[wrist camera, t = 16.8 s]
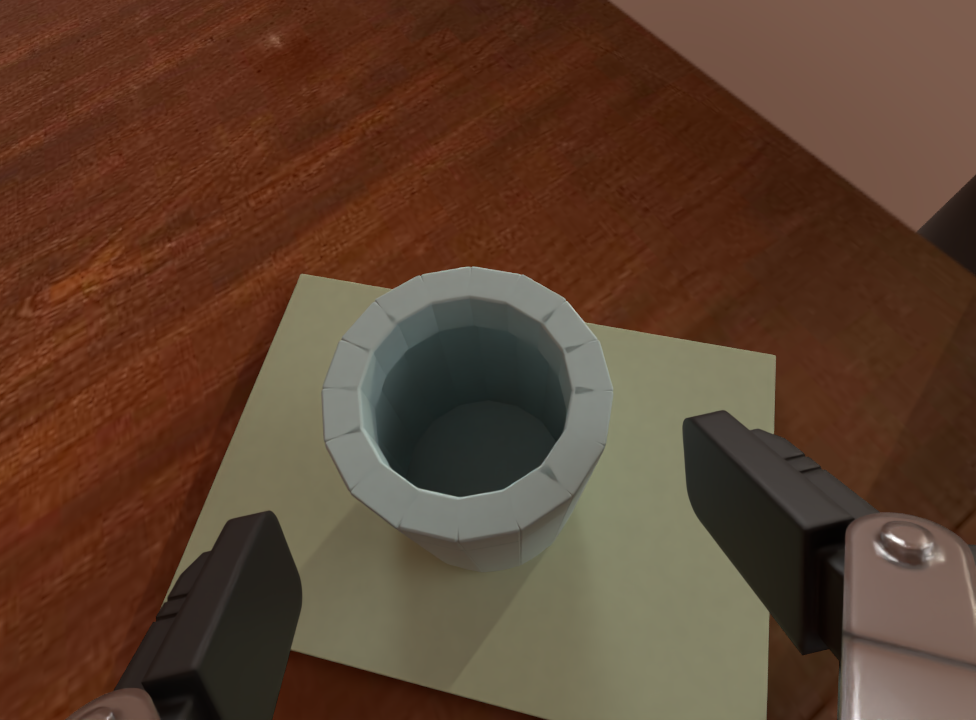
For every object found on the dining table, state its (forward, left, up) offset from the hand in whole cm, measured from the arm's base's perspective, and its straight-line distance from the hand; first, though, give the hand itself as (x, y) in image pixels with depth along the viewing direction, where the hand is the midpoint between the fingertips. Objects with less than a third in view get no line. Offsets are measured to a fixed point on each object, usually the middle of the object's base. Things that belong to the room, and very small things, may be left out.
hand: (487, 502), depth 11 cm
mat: (+1, -2, -10) cm, 11 cm away
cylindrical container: (+1, -2, -9) cm, 10 cm away
